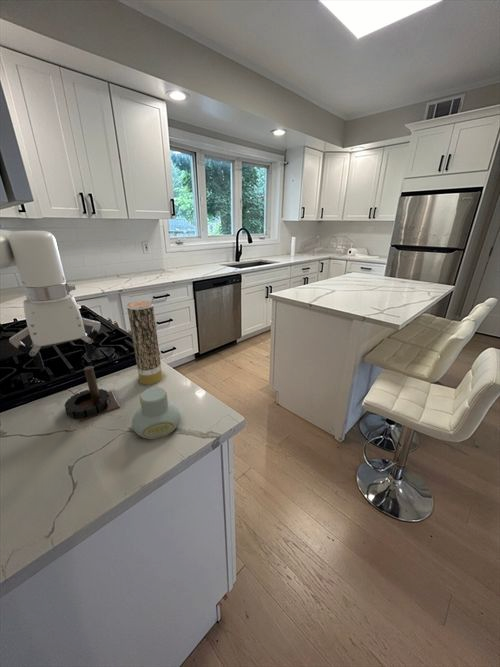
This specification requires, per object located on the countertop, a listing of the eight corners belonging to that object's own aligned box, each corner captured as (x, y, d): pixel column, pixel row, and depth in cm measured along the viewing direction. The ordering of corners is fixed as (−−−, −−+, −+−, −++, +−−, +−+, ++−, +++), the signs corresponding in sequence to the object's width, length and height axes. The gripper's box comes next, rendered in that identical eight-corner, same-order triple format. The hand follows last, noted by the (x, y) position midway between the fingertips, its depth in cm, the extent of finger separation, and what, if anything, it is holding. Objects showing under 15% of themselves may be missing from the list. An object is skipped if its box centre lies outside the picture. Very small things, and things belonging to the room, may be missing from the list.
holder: (82, 425, 68) (69, 381, 63) (76, 406, 75) (65, 365, 70) (120, 411, 73) (112, 369, 68) (112, 394, 80) (104, 356, 75)
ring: (69, 424, 66) (67, 417, 65) (64, 403, 73) (62, 397, 73) (114, 408, 72) (112, 401, 71) (105, 390, 79) (104, 384, 78)
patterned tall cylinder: (161, 374, 91) (152, 300, 81) (163, 384, 85) (153, 306, 75) (139, 377, 88) (127, 302, 79) (140, 389, 82) (126, 308, 73)
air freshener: (134, 447, 62) (127, 410, 58) (133, 423, 69) (127, 389, 65) (184, 434, 65) (180, 399, 62) (178, 413, 72) (175, 380, 69)
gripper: (89, 284, 67) (103, 348, 73) (-5, 294, 57) (21, 367, 64) (95, 290, 61) (110, 358, 68) (-7, 302, 52) (21, 381, 58)
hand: (67, 362), depth 66 cm, fingers open, 9 cm apart
